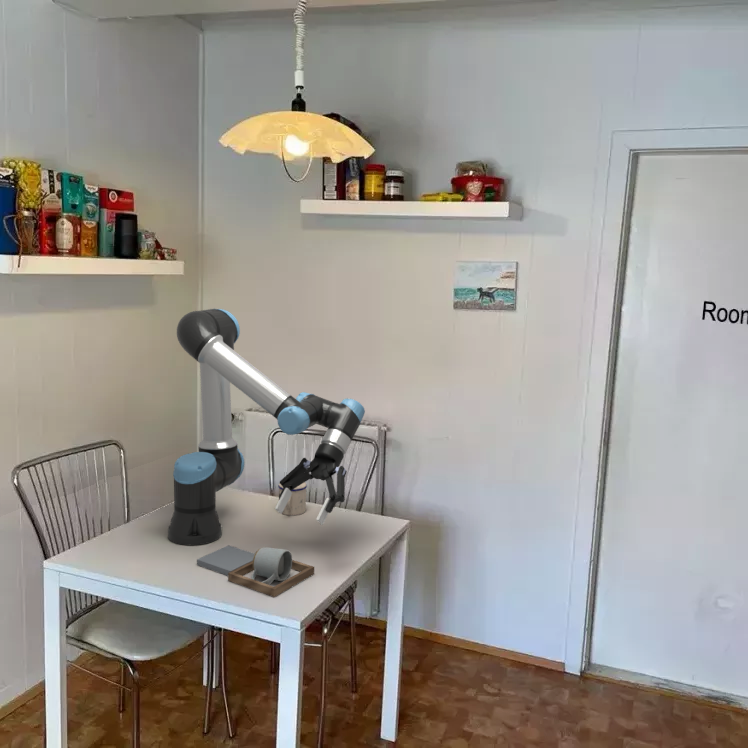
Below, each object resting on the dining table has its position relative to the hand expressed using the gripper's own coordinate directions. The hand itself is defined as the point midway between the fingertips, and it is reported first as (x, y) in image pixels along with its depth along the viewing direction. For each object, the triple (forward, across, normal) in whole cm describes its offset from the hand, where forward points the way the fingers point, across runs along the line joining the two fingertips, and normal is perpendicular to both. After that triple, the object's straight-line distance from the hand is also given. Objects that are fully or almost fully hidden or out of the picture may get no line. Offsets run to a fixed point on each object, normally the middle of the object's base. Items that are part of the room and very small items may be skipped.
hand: (298, 516), depth 191 cm
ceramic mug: (+17, +1, -2) cm, 17 cm away
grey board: (+16, +15, -3) cm, 23 cm away
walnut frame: (+16, +1, -3) cm, 17 cm away
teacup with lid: (-12, +26, -31) cm, 42 cm away
